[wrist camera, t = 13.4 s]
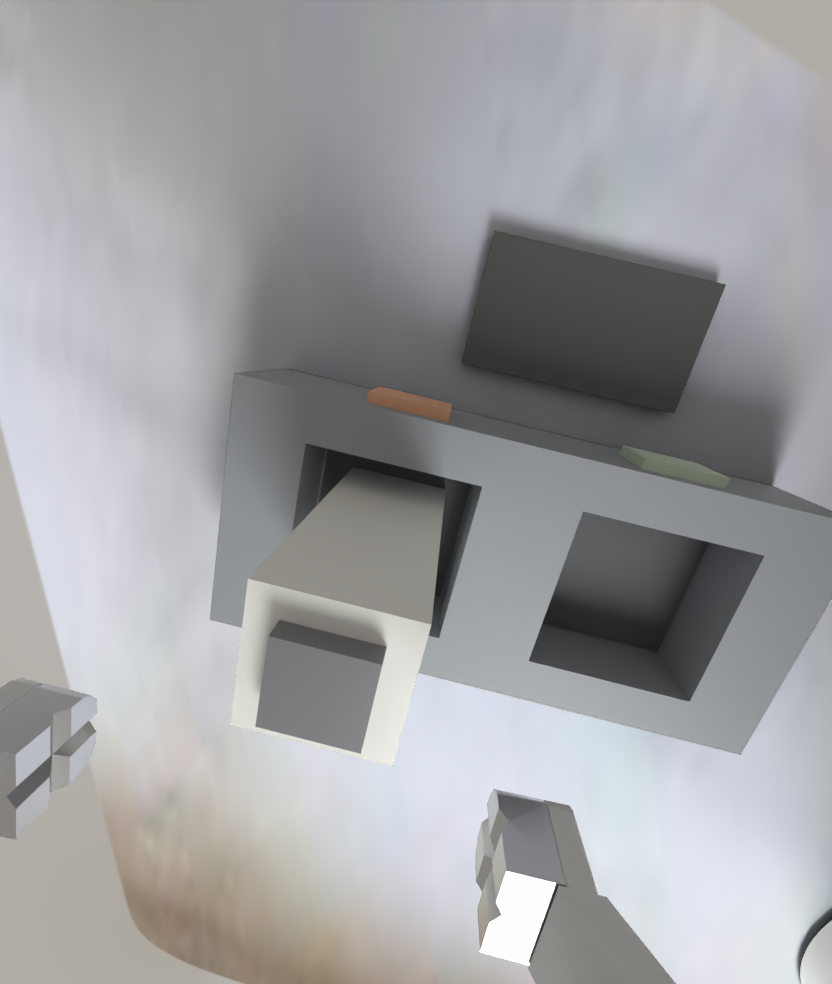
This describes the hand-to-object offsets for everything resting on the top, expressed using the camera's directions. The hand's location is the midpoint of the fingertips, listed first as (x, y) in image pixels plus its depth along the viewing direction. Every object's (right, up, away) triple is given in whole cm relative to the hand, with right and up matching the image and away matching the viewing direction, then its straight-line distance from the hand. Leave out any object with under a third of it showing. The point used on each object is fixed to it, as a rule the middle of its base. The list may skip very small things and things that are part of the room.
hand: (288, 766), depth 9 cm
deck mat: (+9, +12, +10) cm, 18 cm away
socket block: (+6, +4, +13) cm, 14 cm away
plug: (+1, +4, +11) cm, 12 cm away
